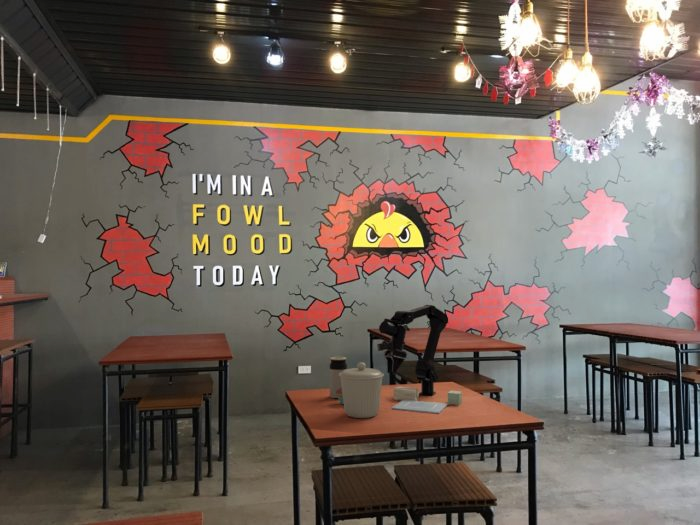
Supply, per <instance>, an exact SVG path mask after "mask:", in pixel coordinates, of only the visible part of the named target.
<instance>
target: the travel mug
mask: <svg viewBox="0 0 700 525" xmlns="http://www.w3.org/2000/svg"><path fill="white" fill-rule="evenodd" d="M346 360H347V357H345V356H332V357H331V356H330V364H329V397H330V398H331V399H334V398H338V396H337V395H336V391H337V390H338V389H339V388H341V387H342V386H341V377H340V376H339V374H340V373H341V372H343V371H344V370H347V369H348V364H347V362H346Z"/></svg>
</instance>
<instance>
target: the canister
mask: <svg viewBox="0 0 700 525" xmlns="http://www.w3.org/2000/svg"><path fill="white" fill-rule="evenodd" d="M356 367H357V368H356ZM356 367H354V368H353V367H352V368H347V370H344V371H343V372H341V373H340V374H339V376H340V377H341V386H342V395H343V403H344V405H343V408H344V412H345V414H346V415H347V416H349V417H350V418H354V419H355V418H356V419H369V418H373V417H376V416H377V414H378V413H379V410H380V403H381V397H382V396H381V393H382V388H383V387H382V386H383V377H384V376H385V373H383V372H381V371H380V370H379V369H376V368H369V367H367V365H366V363H365V362H361V361H360V362H357V364H356Z"/></svg>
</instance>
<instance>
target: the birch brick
mask: <svg viewBox="0 0 700 525" xmlns="http://www.w3.org/2000/svg"><path fill="white" fill-rule="evenodd" d="M419 393H420V388H419V387H412V386H411V387H409V386H399V385H398V386H396V387H394V388H393V401H394V400H396V401H402V400H414V401H416V400H417V401H419V399H420V394H419Z"/></svg>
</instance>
